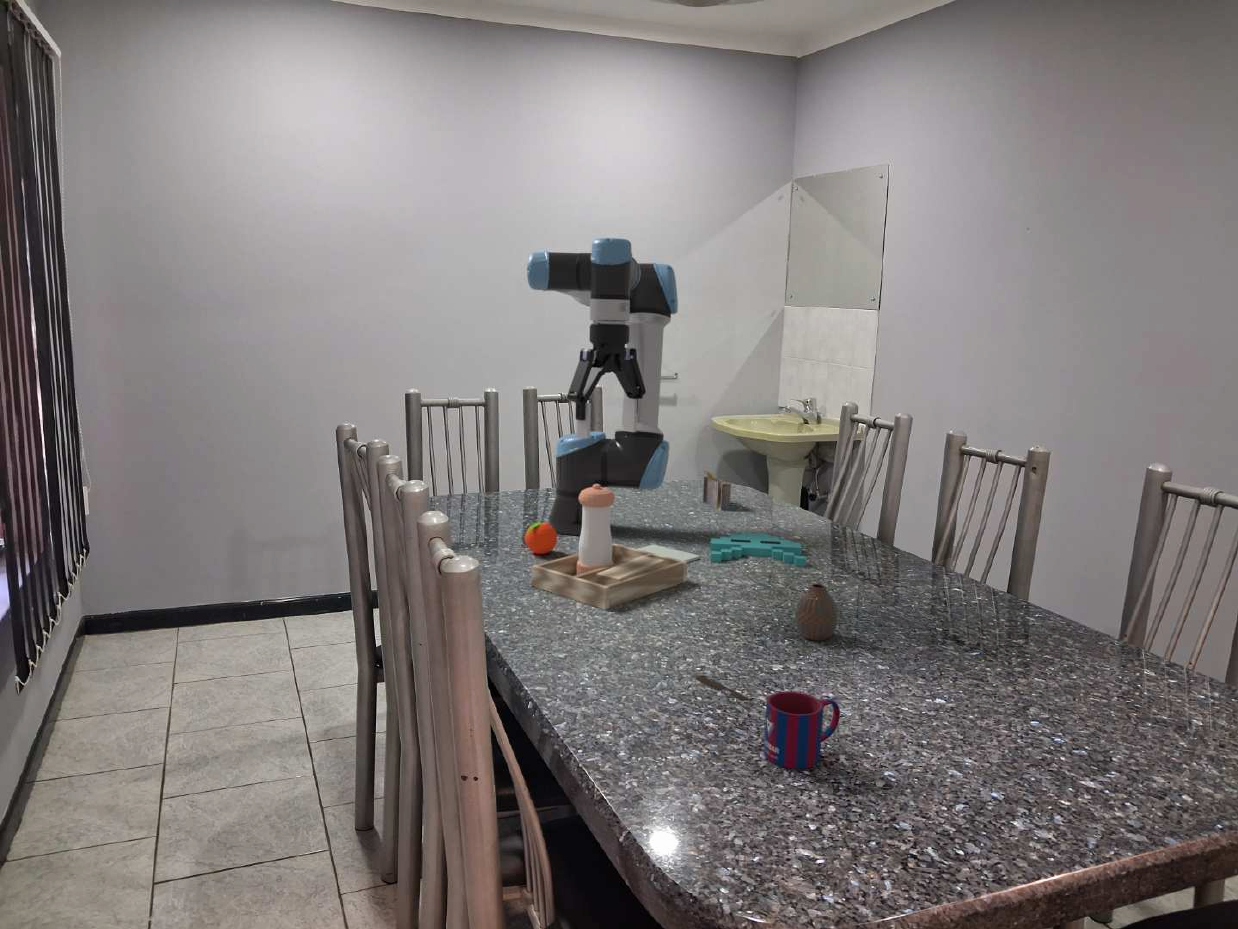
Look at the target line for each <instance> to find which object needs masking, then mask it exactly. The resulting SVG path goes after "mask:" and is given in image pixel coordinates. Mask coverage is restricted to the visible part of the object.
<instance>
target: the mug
mask: <svg viewBox="0 0 1238 929" xmlns="http://www.w3.org/2000/svg"><path fill="white" fill-rule="evenodd" d="M765 705H766V710H765V724H764V725H765V726H764V729H765V730H764V741H763V742H764V745H763V754H764V756H765V758H766V759H767V761H769V762H770V763H773V764H774V765H776V766H778V767H781V768H785V769H791V770H804V769H805V770H807V769H810V768H813V767H814V766H815V767H816V765H817V764H818V763H819V762H820V760H821V753H822V752H821V751H822V750H821V748H822V743H823V742H825V741H826V740H828V739H830V737H831V736H832V735H833V734H834V732H835V731H836V730H837V728H838V725H839V722H840V717H841V710H840V706H839V704H838V703H837V702H836V701H835V700H834V699H831V698H826V699H825V698H824V699H818V698H817V697H815V696H812V695H810V694H807V693H804V692H798V691H779V692H775V693H773V694H770V695H769V696H768V697H767V698H766V704H765ZM828 705H831V706H832V709H833V712H832V713H833V714H832V718H831V722H830V724H829V726H828V728H826V729H825V730H824V732H823V719H824V708H825V707H826V706H828Z"/></svg>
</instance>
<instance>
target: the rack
mask: <svg viewBox="0 0 1238 929" xmlns="http://www.w3.org/2000/svg"><path fill="white" fill-rule="evenodd" d="M612 545H613V546H612V561H613V563H614V564H613V565H609V566H606V567H602V568H599V569H596V570H592V571H589V572H585V573H582V574H579V575H577V562H578V560H579V552H578V553H576V554H572V555H571V554H570V555H568V556H563V557H560V558H556V559H553V560H549V561H546V562H541V563H539V564H535V565H531V567H530V568H531V570H530V571H531V573H530V575H531V577H530V578H531V582H530V583H531V585H532V586H534V587H533V588H535V587H537V588H536V589H538V588H539V589H538V590H541V589H544V590H547V591H549V592H548V593H551V592H552V593H551V594H554V593H555V594H554V595H557V596H560V595H562V596H561V597H563V596H565V597H564V598H566V597H567V599H570V600H573V601H576V602H579V601H580V602H579V603H582V602H583V604H585V603H586V604H585V605H589V606H591V607H595V608H598V607H599V608H598V609H601V610H604V611H605V610H608V609H612V608H614V607H617V606H620V605H624V604H627V603H628V602H631V601H634V600H637V599H640V598H643V597H646V596H649V595H651V594H655V593H658V592H660V591H663V590H666V589H668V588H671V587H675V586H677V585H679V584H680V585H681V584H683V583H686V582H687V573H688V570H687V569H688V562H686V561H682V560H678V559H674V558H670V557H666V556H662V555H658V554H654V553H650V552H646V551H642V550H638V549H639V548H634V547H630V546H626V545H621V544H617V543H612ZM640 556H647V557H652V558H657V559H662V560H664V567H662V568H659V569H656V570H653V571H650V572H646V573H643V574H640V575H637V576H634V577H631V578H628V579H625V580H621V581H618V582H615V583H612V584H609V585H606V586H604V585H601V584H598V583H596V574H597V573H600V572H602V571H605V570H607V569H610V568H612V567H615V566H618V565H620V564H623V563H625V562H628V561H630V560H633V559H635V558H638V557H640ZM532 586H531V587H532ZM662 589H663V590H662ZM544 590H543V591H544ZM547 591H546V592H547Z"/></svg>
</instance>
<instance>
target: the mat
mask: <svg viewBox="0 0 1238 929" xmlns="http://www.w3.org/2000/svg"><path fill="white" fill-rule="evenodd" d="M637 549H638V550H642V551H646V552H650V553H654V554H658V555H662V556H666V557H670V558H674V559H678V560H682V561H686V562H687V563H690V562H693V561H696V560H699V559H701V555H698V554H694V553H690V552H688V551H687V552H686V551H681V550H678V549H674V548H670V547H666V546H663V545H662V546H661V545H659V544H650V545H646V546H643V547H640V548H639V547H638V548H637Z"/></svg>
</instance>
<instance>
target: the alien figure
mask: <svg viewBox="0 0 1238 929" xmlns="http://www.w3.org/2000/svg"><path fill="white" fill-rule="evenodd" d="M802 552H803V547H802V544H801V542H794V541H792V542H791V540H790V539H780V537H779V536H769V534H768V533H756V532H755V533H753V532H739V534H729V536H722V535H720V538H714V537H713V538H710V563H722V561H732V559H733V558H735V559H736V558H737V559H741V558H742V556H749V557H750V556H751V557H768V558H771V559H777V561H783V564H793V565H794V564H795V565H794V567H799V566H805V567H806V566H807V557H806V556H805V555H802ZM800 555H801V556H800ZM778 559H779V560H778ZM805 567H804V568H805Z"/></svg>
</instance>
